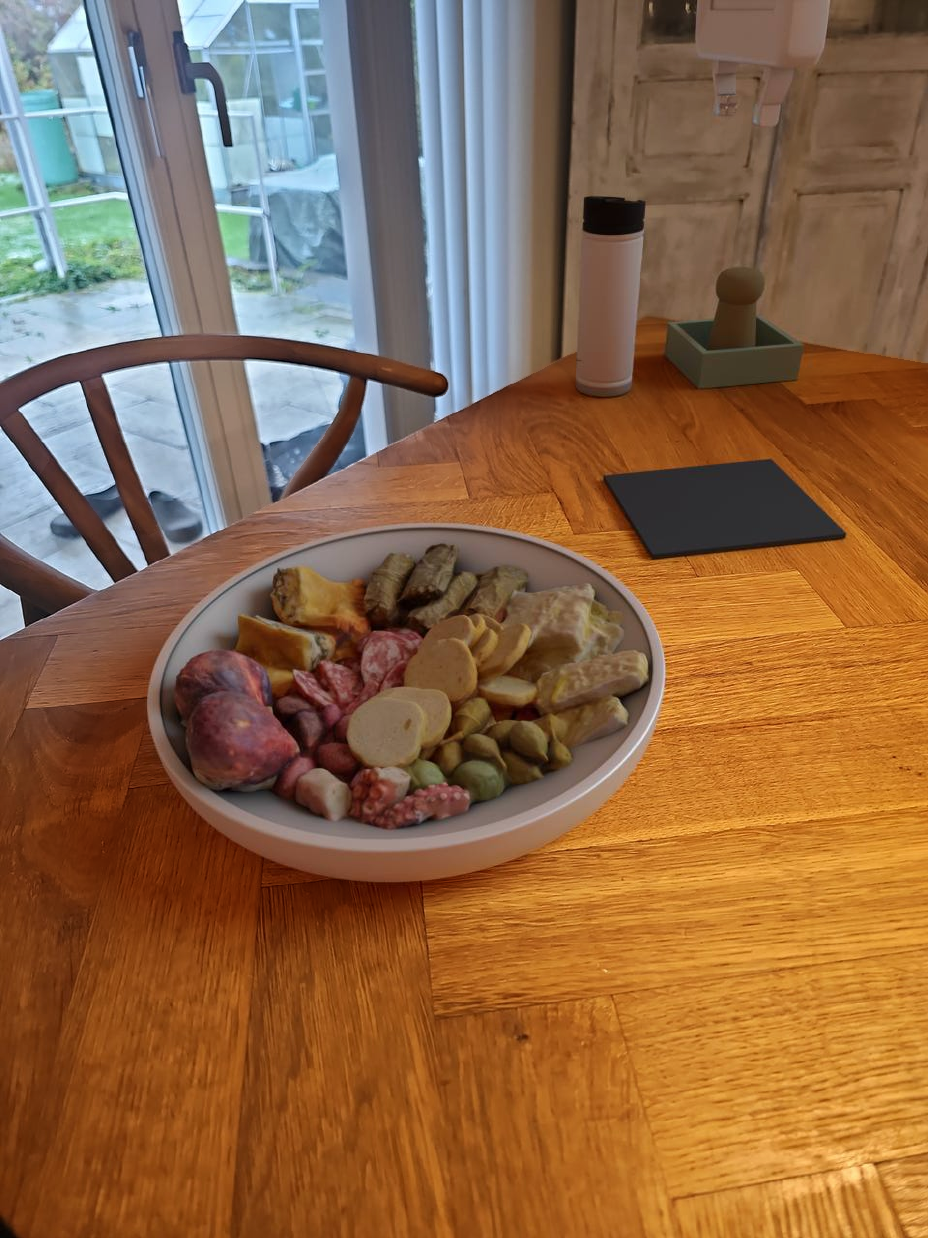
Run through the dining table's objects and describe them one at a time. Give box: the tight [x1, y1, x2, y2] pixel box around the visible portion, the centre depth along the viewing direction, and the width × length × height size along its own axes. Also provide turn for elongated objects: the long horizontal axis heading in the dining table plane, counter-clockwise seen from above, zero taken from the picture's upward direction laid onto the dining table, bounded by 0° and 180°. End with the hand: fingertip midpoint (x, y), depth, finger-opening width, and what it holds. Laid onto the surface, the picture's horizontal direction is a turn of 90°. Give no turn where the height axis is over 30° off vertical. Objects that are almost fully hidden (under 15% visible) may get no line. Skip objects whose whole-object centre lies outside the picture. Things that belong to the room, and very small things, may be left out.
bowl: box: [146, 522, 666, 883], centre depth 51 cm, size 30×30×8 cm
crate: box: [663, 314, 805, 390], centre depth 98 cm, size 12×12×4 cm
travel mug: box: [575, 195, 646, 398], centre depth 90 cm, size 6×7×20 cm
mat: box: [603, 458, 847, 560], centre depth 73 cm, size 16×14×1 cm
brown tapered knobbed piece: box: [706, 266, 766, 351], centre depth 96 cm, size 6×6×11 cm
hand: (743, 120), depth 80 cm, fingers open, 8 cm apart
